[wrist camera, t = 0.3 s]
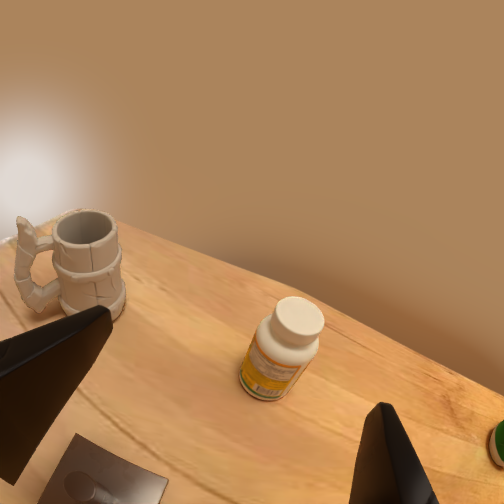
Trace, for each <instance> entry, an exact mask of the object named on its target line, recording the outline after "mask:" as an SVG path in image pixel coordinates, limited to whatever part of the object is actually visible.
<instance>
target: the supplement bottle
mask: <svg viewBox="0 0 504 504" xmlns="http://www.w3.org/2000/svg"><path fill="white" fill-rule="evenodd" d="M323 327H324V317H323V314H322V313H321V311H320V310H319V308H318V307H317V306H316V305H314V304H313V303H312V302H310V301H308V300H306V299H304V298H301V297H296V296H290V297H286V298H283V299H281V300H280V301H279V302H278V303H277V305H276V307H275V309H274V311H273V313H272V314H270V315H268V316H266V317H265V318H264V319H263V320H262V321H261V322H260V324H259V325H258V327H257V330H256V332H255V334H254V337H253V339H252V342H251V344H250V346H249V349H248V351H247V353H246V356H245V358H244V361H243V363H242V366H241V368H240V373H239V376H240V381H241V383H242V385H243V387H244V388H245V389H246V391H247V392H248V393H249V394H251V395H252V396H254V397H256V398H258V399H261V400H276V399H279V398H282V397H283V396H285V395H286V394H287V393H288V392H289V391H290V389H291V388H292V387H293V385H294V384H295V383H296V381H297V380H298V378H299V377H300V376H301V374H302V373H303V372H304V370H305V369H306V367H307V366H308V365H309V363H310V362H311V361H312V359H313V358H314V356H315V355H316V353H317V350H318V345H319V340H318V336H319V334H320V332H321V331H322V329H323Z"/></svg>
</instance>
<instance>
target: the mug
mask: <svg viewBox="0 0 504 504" xmlns="http://www.w3.org/2000/svg"><path fill="white" fill-rule="evenodd" d="M16 222H17V227H18V240H17V250H16V259H15V269H14V280H15V283H16V286H17V288H18V289H19V292H20V294H21V297H22V300H23V301H24V303H25V304H26V305H27V306H28V307H29V308H32V309H33V310H34V311H35V312H36V313H41V312H42V311H43V310H44V308H45V307H46V305H47V304H48V303H49V302H50V301H51V300H53V299H54V298H56V297H57V296H58V300H59V302H60V305H61V307H62V309H63V310H64V311H65V313H66V315H67V316H70V315H73V314H75V313H78V312H81V311H83V310H86V309H89V308H91V307H94V306H97V305H103V306H105V307H107V308H108V309H110V311H111V316H112V321H113V320H114V319H116V318H117V317H118V316H119V314H120V313H121V311H122V307H123V304H124V301H125V297H126V288H125V282H124V281H123V279H122V278H121V271H120V264H121V260H122V248H121V246H120V244H119V243H118V227H117V225H116V221H115V220H114V218H113V217H112V216H111V215H110V214H108V213H106V212H104V211H100V210H94V209H83V210H81V211H78V210H76V211H73V212H70V213H68V214H66V215H64V216H62V217H61V218H59V219H58V220H57V221H56V223H55V224H54V226H53V228H52V235H49V236H42V237H39V238H37V236H36V233H35V230H34V227H33V226H32V225H31V224H30V223H29V221H28V220H26V219H25V218H23V217H21V216H18V217H17V220H16ZM47 250H54V251H53V255H52V263H53V267H54V269H55V270H56V272H57V275H58V278H57V279H55V280H53V281H51V282H50V283H48V284H47V285H45V286H44V287H42V288H41V286H39V285H37V284H36V283H35V282H33V281H32V278H31V275H30V268H31V266H32V264H33V261H34V259H35V257H36V254H38V253H40V252H43V251H47Z"/></svg>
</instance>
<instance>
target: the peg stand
mask: <svg viewBox="0 0 504 504" xmlns="http://www.w3.org/2000/svg"><path fill="white" fill-rule="evenodd" d="M168 481H169V480H168V479H167V478H164V477H162V476H159V475H157V474H155V473H152V472H150V471H148V470H145V469H143V468H141V467H139V466H137V465H134V464H132V463H130V462H128V461H126V460H124V459H122V458H120V457H118V456H116V455H114V454H112V453H110V452H108V451H107V450H105V449H103V448H101V447H99V446H97V445H96V444H94V443H92V442H90V441H89V440H87V439H85V438H84V437H82V436H80V435H79V434H77V433H76V434H75V436H74V437H73V439H72V441H71V443H70V444H69V446H68V448H67V450H66V451H65V453H64V455H63V457H62V458H61V460H60V462H59V464H58V466H57V467H56V469H55V471H54V473H53V475H52V477H51V478H50V480H49V482H48V484H47V486H46V488H45V490H44V492H43V494H42V496H41V497H40V499H39V501H38V503H37V504H159V503H160V501H161V498H162V496H163V494H164V491H165V489H166V486H167V484H168Z"/></svg>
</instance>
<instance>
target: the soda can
mask: <svg viewBox="0 0 504 504" xmlns="http://www.w3.org/2000/svg"><path fill="white" fill-rule="evenodd" d="M489 448H490V454H491V457H492V459H493V461H494V462H495V463H496V464H497V465H499V466H503V467H504V420H503V421H502V422H500V423H499V424H498V425H497V426H496V427H495V428H494V430H493V433H492V436H491V438H490V443H489Z"/></svg>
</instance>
